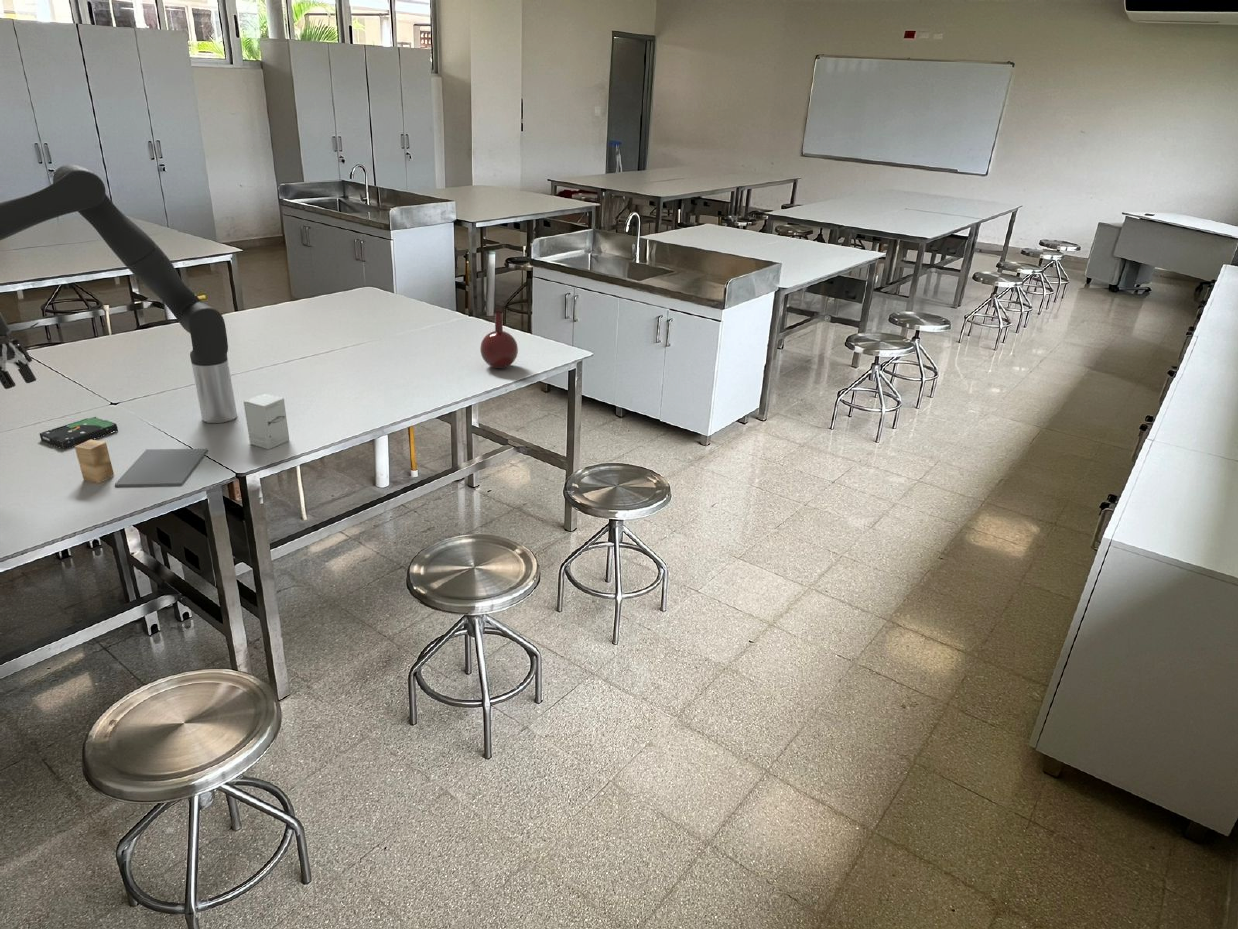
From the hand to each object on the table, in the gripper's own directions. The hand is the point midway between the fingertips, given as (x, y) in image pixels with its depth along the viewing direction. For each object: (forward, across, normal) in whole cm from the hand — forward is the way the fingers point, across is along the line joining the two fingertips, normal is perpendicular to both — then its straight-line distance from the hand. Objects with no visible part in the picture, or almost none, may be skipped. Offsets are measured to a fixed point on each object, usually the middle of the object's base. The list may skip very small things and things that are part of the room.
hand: (21, 384), depth 183 cm
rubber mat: (+30, +7, -15) cm, 35 cm away
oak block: (+26, +2, -3) cm, 26 cm away
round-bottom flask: (+47, +84, -100) cm, 139 cm away
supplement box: (+36, +22, -37) cm, 56 cm away
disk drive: (+17, +28, +10) cm, 34 cm away
